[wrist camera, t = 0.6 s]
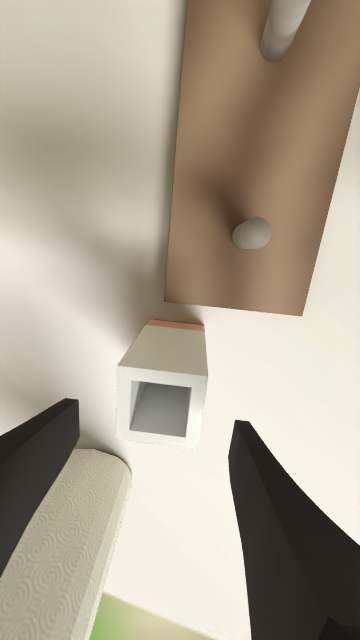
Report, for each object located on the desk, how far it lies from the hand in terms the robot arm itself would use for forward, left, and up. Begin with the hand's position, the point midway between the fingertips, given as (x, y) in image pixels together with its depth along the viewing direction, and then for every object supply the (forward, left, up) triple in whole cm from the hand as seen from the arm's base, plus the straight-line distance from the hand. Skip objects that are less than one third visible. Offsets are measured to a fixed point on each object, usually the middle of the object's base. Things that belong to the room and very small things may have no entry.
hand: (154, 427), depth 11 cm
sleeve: (0, 0, -9) cm, 9 cm away
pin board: (-4, -14, -9) cm, 17 cm away
